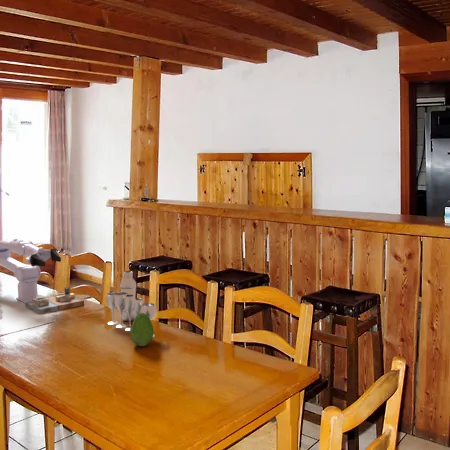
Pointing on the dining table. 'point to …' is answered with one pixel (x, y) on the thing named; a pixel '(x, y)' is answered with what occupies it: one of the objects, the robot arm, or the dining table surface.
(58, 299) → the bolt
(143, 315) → the avocado
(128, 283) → the plastic bottle
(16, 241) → the robot arm
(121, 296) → the goblet set
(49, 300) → the two-tone tabbed panel
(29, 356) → the dining table surface
